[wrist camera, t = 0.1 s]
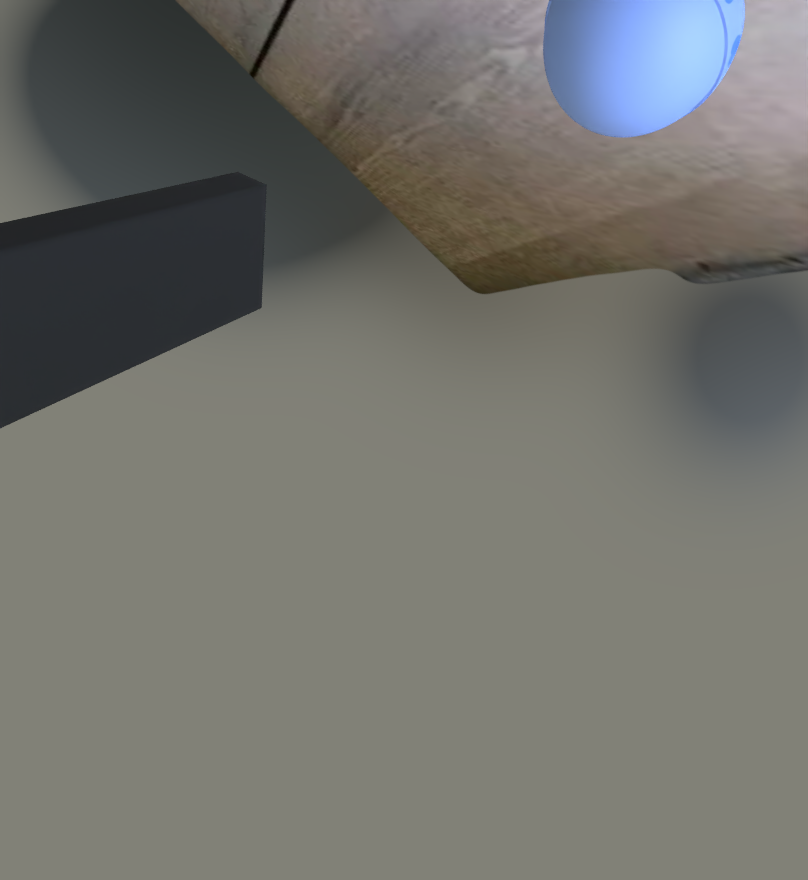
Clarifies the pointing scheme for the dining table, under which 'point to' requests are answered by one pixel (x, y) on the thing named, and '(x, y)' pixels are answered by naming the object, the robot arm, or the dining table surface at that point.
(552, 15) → the baby rattle
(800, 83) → the dining table surface
